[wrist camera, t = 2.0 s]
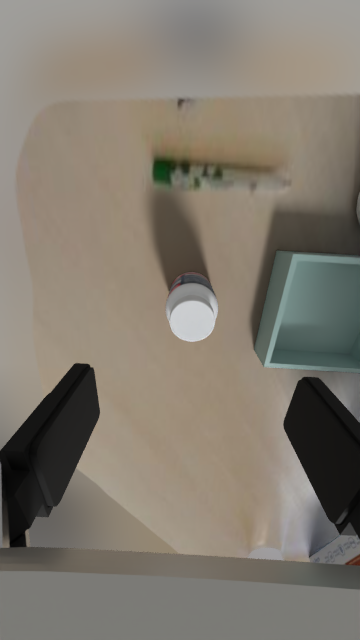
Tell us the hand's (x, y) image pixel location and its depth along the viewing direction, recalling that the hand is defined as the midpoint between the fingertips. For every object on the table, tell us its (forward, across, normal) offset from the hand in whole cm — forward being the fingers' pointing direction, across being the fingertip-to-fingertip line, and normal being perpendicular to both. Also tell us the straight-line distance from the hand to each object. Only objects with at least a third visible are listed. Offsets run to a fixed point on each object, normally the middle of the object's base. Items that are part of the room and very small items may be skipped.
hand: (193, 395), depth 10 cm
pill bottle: (+18, 0, 0) cm, 18 cm away
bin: (+18, -16, +1) cm, 24 cm away
